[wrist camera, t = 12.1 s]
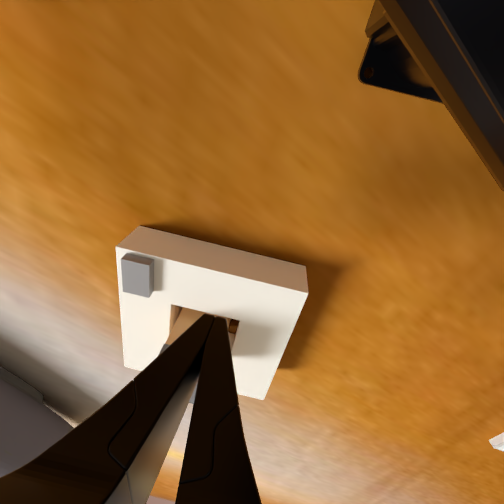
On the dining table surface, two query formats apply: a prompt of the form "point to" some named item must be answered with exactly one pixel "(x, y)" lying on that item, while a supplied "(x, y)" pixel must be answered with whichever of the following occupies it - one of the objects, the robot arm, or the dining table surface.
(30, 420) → the bluetooth speaker
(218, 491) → the robot arm
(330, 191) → the dining table surface
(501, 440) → the hard drive
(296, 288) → the socket plate
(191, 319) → the plug
